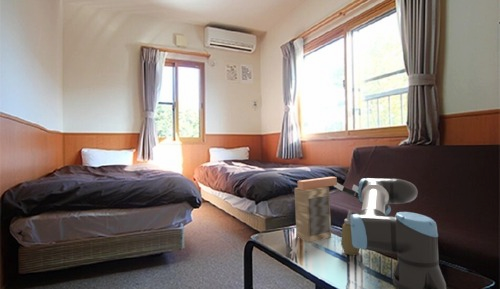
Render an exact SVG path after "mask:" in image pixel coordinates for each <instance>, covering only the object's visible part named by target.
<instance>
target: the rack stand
mask: <svg viewBox="0 0 500 289" xmlns="http://www.w3.org/2000/svg"><path fill="white" fill-rule="evenodd" d="M293 190H294V208H295V210H294V211H295V230H296V232H295V233H296V235H295V236H296V238H298V237H299V238H298V239H300V238H301V239H300V240H302V241H304V242H307V243H308V244H309V243H312V242H313V243H314V242H317V241H322V240H324V239H329V238H332V222H331V202H330V201H331V200H330V186H327V187H320V188H313V189H306V190H301V189H298V187H294V189H293Z"/></svg>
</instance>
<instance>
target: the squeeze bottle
mask: <svg viewBox="0 0 500 289" xmlns="http://www.w3.org/2000/svg"><path fill="white" fill-rule="evenodd" d="M351 215H352V211H351V210H347V216H346V218H345V219H344V222H343V224H342V226H341V229H342V230H341V240H340V241H341V243H340V245H341V247H342V249H343V252H344V254H346V255H350V256H356V255H359V252H360V249H359V248H355V247H354V246H353V245H352V235H351V220H350V216H351Z"/></svg>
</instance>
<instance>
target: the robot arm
mask: <svg viewBox="0 0 500 289" xmlns="http://www.w3.org/2000/svg"><path fill="white" fill-rule="evenodd" d="M333 187H334V188H336V189H338V191H339V192H340V193H343V194H347V195H348V196H351V197H352V198H356V199H357V200H358V201H359V203H360V204H361V205H362V206H361V210H360V211H359V212H358V213H353V214H352V215H351V216H350V220H351V235H352V245H353V246H354V247H355V248H359V249H361V250H363V251H365V250H368V251H376V252H377V251H378V252H386V253H392V254H394V253H395V254H397V261H396V264H395V267H394V270H393V274H392V284H393V286H395V288H396V289H447V283H446V281H445V278H444V275H443V273H442V270H441V268H440V265H439V264H440V263H439V243H438V240H439V239H438V237H439V233H438V226H437V222H436V221H435V220H434V219H432V217H430V216H427V215H424V214H420V213H416V212H410V211H399V212H396V214H395V216H391V215H389V214H390V213H391V212H392V211H391V210H392V208H391V205H393V204H394V205H400V204H401V205H402V204H406V203H411V202H413V201H414V200H415V199H416V198H417V197H418V193H419V191H418V189H417V186H416V185H415V184H413V183H412V182H410V181H407V180H405V179H401V178H376V177H375V178H373V177H372V178H371V177H366V178H361V179H360V181H359V183H358V186H357V185H356V184H353V185H352V188H351V189H350V188H348V187H345V186H343V185H342V184H341V183H339V182H337V185H334V186H333ZM388 215H389V216H388Z"/></svg>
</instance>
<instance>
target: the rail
mask: <svg viewBox="0 0 500 289" xmlns="http://www.w3.org/2000/svg"><path fill="white" fill-rule="evenodd" d="M337 183H338V180H337V176H326V177H319V178H311V179H303V180H301V179H300V180H297V188H298V189H301V190H306V189H313V188H320V187H334V185H337Z"/></svg>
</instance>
